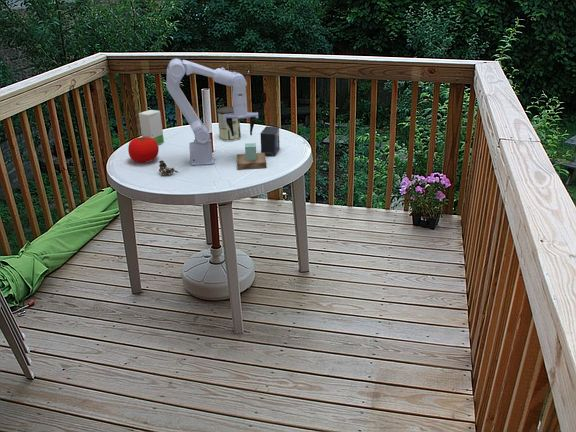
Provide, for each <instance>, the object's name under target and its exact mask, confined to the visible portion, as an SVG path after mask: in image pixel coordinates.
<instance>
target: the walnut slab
mask: <svg viewBox="0 0 576 432" xmlns="http://www.w3.org/2000/svg"><path fill="white" fill-rule="evenodd" d="M256 155H257V160H253V161H246V155H245V153H237V154H236V167H237V171H238V170H241V171H242V170H255V169H267V160H266V159H267V157H266V156H265V153H261V152H256Z"/></svg>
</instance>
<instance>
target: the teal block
mask: <svg viewBox="0 0 576 432" xmlns="http://www.w3.org/2000/svg"><path fill="white" fill-rule="evenodd" d="M244 150H245V153H244V154H245V155H246V161H253V160H257V155H256V153H257V143H256V142H252V143H250V142H249V143H244Z"/></svg>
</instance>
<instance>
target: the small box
mask: <svg viewBox="0 0 576 432" xmlns="http://www.w3.org/2000/svg"><path fill="white" fill-rule="evenodd" d="M259 135H260V153H265V157H275V156H277V155H276V154H277V153H278V152H279V150H280V148H281V147H280V127H279V126H267V125H266V126H265V127H264V128H263V129H262V131H261V132H260V134H259Z"/></svg>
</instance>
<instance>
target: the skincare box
mask: <svg viewBox="0 0 576 432" xmlns="http://www.w3.org/2000/svg"><path fill="white" fill-rule="evenodd" d="M161 115H162V114H161V111H160V110H156V109H155V110H154V109H148V110H145V111H142V112H139V113H138V119H139V125H140V133H141V137H149V138H153V139H154V140H156V142H157V144H158V146H160V145H162V144H164V143H165V141H164V140H165V139H164V131H163V125H162V116H161Z"/></svg>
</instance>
